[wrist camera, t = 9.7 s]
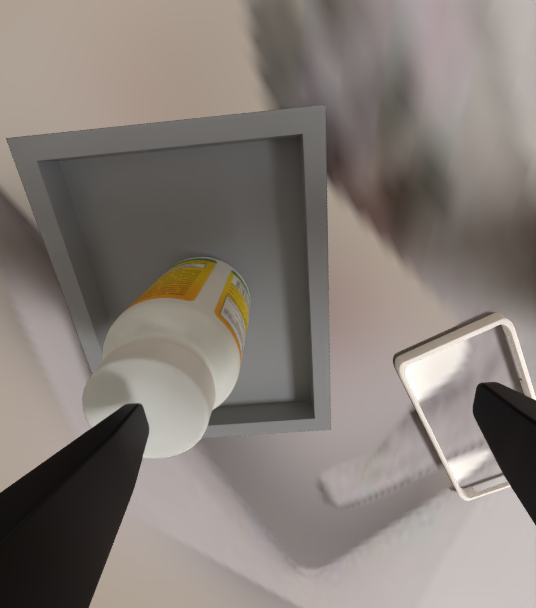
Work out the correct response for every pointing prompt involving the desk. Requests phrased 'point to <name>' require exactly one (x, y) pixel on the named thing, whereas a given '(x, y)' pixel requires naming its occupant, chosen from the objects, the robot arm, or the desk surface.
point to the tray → (199, 240)
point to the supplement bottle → (174, 354)
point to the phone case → (437, 370)
